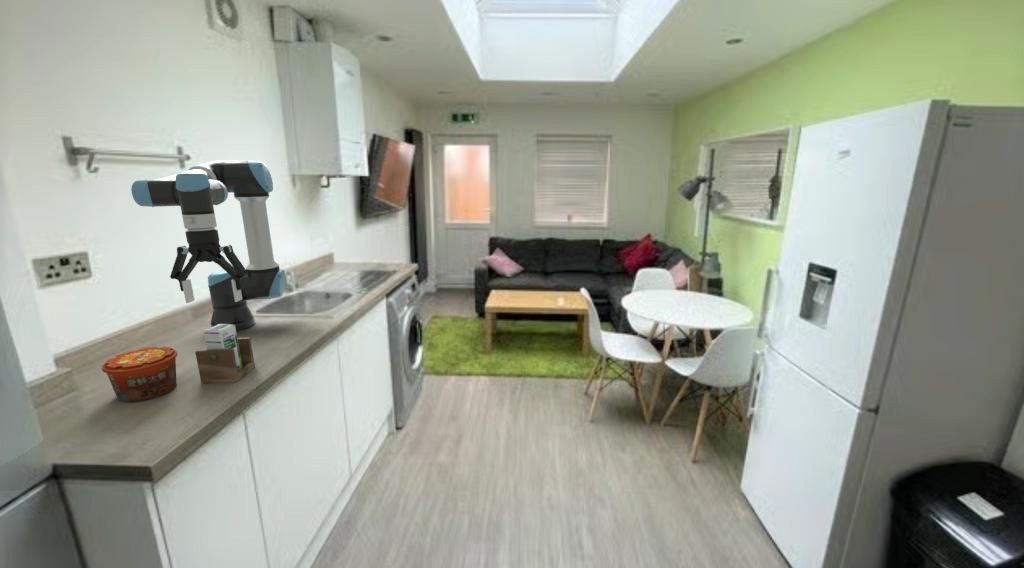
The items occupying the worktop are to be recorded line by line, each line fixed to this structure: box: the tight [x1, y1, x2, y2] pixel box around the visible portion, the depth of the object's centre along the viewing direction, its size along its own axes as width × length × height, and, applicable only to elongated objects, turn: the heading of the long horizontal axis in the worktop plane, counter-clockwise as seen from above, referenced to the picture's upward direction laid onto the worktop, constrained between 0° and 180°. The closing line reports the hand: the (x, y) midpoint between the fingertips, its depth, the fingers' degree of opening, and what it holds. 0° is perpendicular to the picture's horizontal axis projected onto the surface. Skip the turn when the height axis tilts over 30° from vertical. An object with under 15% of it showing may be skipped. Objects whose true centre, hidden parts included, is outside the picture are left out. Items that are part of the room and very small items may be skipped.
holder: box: [194, 336, 256, 384], centre depth 130 cm, size 12×10×10 cm
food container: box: [101, 346, 178, 403], centre depth 120 cm, size 16×16×11 cm
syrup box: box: [203, 324, 243, 371], centre depth 129 cm, size 6×6×14 cm
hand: (214, 301), depth 127 cm, fingers open, 13 cm apart
